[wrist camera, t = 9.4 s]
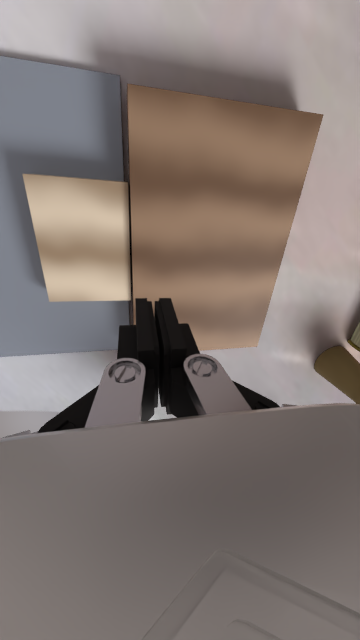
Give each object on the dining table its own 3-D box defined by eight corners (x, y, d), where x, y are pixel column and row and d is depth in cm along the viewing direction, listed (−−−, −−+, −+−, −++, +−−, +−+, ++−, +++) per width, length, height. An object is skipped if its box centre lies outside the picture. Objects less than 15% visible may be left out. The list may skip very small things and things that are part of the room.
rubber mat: (-138, 35, 16) (-144, 32, 15) (119, 77, 19) (119, 75, 19) (-9, 355, 29) (-11, 357, 28) (130, 346, 32) (130, 348, 32)
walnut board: (126, 95, 20) (127, 83, 17) (301, 121, 23) (323, 114, 20) (133, 340, 32) (134, 354, 29) (247, 334, 35) (257, 346, 32)
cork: (324, 345, 40) (385, 398, 30) (353, 346, 41) (420, 396, 32) (308, 373, 42) (360, 429, 33) (336, 373, 44) (393, 426, 35)
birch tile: (30, 173, 21) (22, 173, 19) (127, 181, 22) (128, 182, 21) (54, 293, 26) (49, 301, 24) (130, 292, 28) (130, 300, 26)
